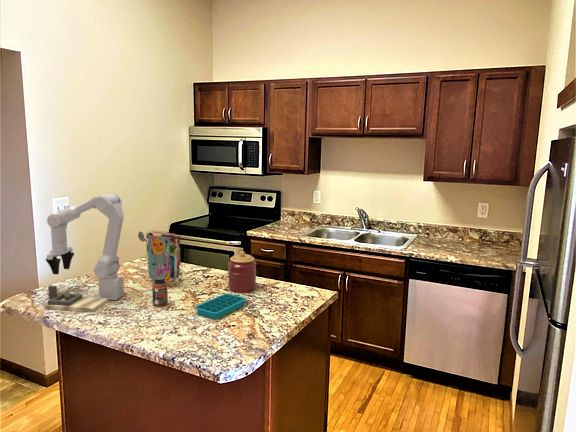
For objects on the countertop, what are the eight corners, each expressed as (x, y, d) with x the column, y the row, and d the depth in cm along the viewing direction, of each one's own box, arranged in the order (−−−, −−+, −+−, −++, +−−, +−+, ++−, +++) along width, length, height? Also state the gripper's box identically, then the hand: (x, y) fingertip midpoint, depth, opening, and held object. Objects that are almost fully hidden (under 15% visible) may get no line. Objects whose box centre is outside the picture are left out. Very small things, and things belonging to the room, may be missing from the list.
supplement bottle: (158, 308, 168) (157, 281, 167) (149, 304, 172) (148, 277, 170) (170, 304, 173) (170, 277, 171) (161, 300, 177) (161, 274, 175)
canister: (254, 293, 188) (255, 255, 185) (225, 292, 188) (225, 254, 185) (257, 284, 201) (257, 248, 198) (230, 283, 201) (230, 247, 198)
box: (134, 279, 203) (132, 230, 199) (144, 276, 209) (142, 228, 205) (173, 288, 192) (172, 236, 188) (182, 284, 197) (182, 234, 193)
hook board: (107, 301, 174) (107, 290, 173) (93, 312, 163) (92, 299, 162) (62, 299, 175) (61, 287, 175) (44, 309, 165) (43, 296, 164)
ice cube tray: (193, 314, 164) (192, 307, 163) (226, 299, 181) (226, 292, 180) (215, 321, 158) (215, 314, 157) (248, 305, 175) (248, 298, 174)
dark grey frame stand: (82, 297, 173) (81, 283, 172) (69, 305, 164) (68, 291, 164) (57, 296, 174) (56, 282, 173) (43, 304, 166) (41, 289, 165)
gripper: (61, 236, 187) (62, 266, 189) (39, 244, 173) (41, 275, 175) (76, 237, 187) (77, 267, 189) (55, 245, 172) (57, 276, 175)
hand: (61, 271), depth 182 cm, fingers open, 7 cm apart
